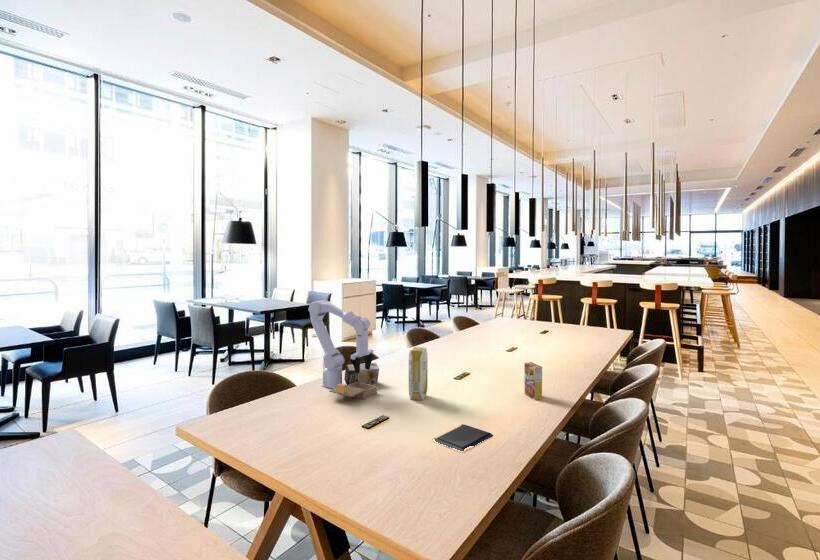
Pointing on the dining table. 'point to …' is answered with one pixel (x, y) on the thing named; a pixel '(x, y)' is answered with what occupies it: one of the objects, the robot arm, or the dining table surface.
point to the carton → (369, 391)
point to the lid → (347, 390)
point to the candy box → (533, 380)
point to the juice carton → (418, 373)
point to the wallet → (462, 437)
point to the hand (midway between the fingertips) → (362, 370)
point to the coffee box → (362, 374)
